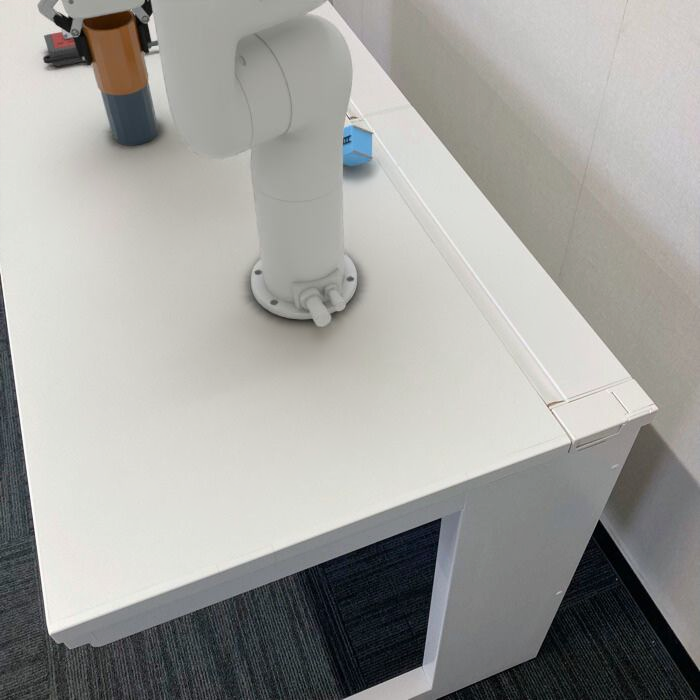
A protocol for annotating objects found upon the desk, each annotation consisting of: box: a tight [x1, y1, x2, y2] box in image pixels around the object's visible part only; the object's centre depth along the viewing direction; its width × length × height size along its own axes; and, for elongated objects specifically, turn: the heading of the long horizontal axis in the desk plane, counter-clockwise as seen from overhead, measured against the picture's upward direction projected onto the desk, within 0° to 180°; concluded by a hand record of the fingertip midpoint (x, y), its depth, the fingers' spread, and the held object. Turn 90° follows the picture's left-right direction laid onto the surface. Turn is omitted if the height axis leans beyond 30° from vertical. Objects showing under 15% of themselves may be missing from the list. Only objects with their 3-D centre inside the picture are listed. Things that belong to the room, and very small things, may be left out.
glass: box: [81, 10, 149, 95], centre depth 104 cm, size 7×7×9 cm
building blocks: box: [343, 124, 374, 167], centre depth 107 cm, size 8×8×12 cm
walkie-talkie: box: [42, 28, 158, 67], centre depth 128 cm, size 9×4×20 cm
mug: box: [99, 82, 159, 146], centre depth 111 cm, size 10×7×8 cm
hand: (116, 53), depth 104 cm, fingers closed on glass, 7 cm apart
